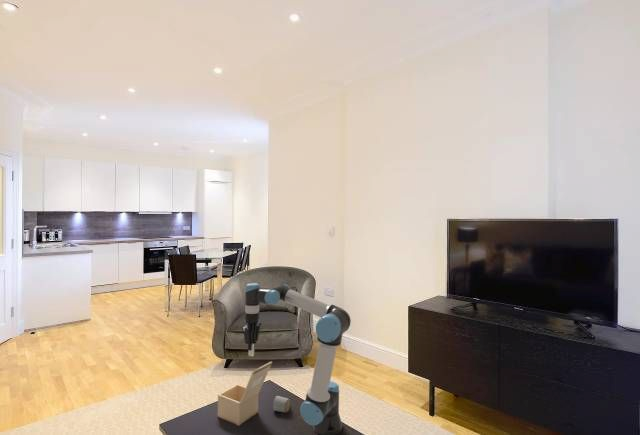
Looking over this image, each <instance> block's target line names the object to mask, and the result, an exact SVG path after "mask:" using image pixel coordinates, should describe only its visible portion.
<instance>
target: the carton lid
mask: <svg viewBox="0 0 640 435" xmlns="http://www.w3.org/2000/svg"><path fill="white" fill-rule="evenodd" d="M272 364H273V361H269V362H268V363H265V364H264V365H262V366H260V367H257V368H256V369H254V370H253V371H252V372H251V375H250V377H249V380H248V382H247V384H246V386H245V387H246V389H245V391H244V393H243V396H242V398H241V401H240V404H241V403H243V402H244V401H246V400H248V399H249V398H251V397H253V396H254V395H256V394H257V393H258V394H259V393H260V391H261V390H262V387H263V385H264V382H265V380H266V377H267V375H268V373H269V371H270V368H271V366H272Z"/></svg>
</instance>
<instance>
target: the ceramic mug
mask: <svg viewBox="0 0 640 435" xmlns="http://www.w3.org/2000/svg"><path fill="white" fill-rule="evenodd" d="M290 407H291V400H290V399H289V398H287V397H284V396H280V395H276V396H275V397H274V400H273V402H272V410H273V411H275V412H280V413H288V412H289V410H290Z"/></svg>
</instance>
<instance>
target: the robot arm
mask: <svg viewBox="0 0 640 435" xmlns="http://www.w3.org/2000/svg"><path fill="white" fill-rule="evenodd" d="M280 301H283V302H284V303H288V304H289V305H292V306H294V307H297V308H299V309H300V310H302V311H305V312H307V313H310V314H312V315H314V316H317V317H318V318H319V319H318V320H317V322H316V325H315V334H316V335H317V336H316V337H317V338H316V340H317V341H318V347H317V348H318V350H317V355H316V360H315V365H314V370H313V374H312V381H311V385H310V387H309V388H308V389H307V391H306V394H305V399H304V401H303V402H302V403H301V405H300V408H299V412H300V415H301V417H302V419H303V421H304V423H307V424H308V425H310V426H313V427H312V429H313V430H314V432H315V433H316V434H318V435H338V434H340V433H341V432H342V429H343V423H342V418H341V416H340V386H339V384H337V383H336V382H335V381H332V380H331V379H332V374H333V368H334V363H335V358H336V352H337V348H338V347H340V345H341V344H342V338H343V335H344V333H345V332H347V331H348V330H349V328H350V327H351V323H352V319H351V316H350V314H349V313H348V312H347V311H346V310H345V309H344V308H342V307H339V306H338V305H335V304H327V303H325V302H322V301H319V300H317V299H315V298H312V297H310V296H308V295H305V294H304V293H300V292H298V291H295V290H294V289H292V288H291V287H290V286H289V285H288V284H280V285H278V286H275V287H271V288H261V285H260V283H256V282H252V283H246V285H245V303H244V306H245V310H244V312H245V313H244V319H245V325H244V326H242V332H243V338H244V343H245V344H246V345H247V350H248V357H254V356H255V347H256V344H257V342H258V340H259V336H260V329H261V325H262V322H259V319H260V304H266V305H269V306H271V305H273V306H274V305H275V306H276V305H277V304H278V303H279V302H280Z"/></svg>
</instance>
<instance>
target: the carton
mask: <svg viewBox="0 0 640 435" xmlns="http://www.w3.org/2000/svg"><path fill="white" fill-rule="evenodd" d="M245 389H246V386H244V385H241V384H238V383H237V384H236V385H234V386H232V387H230V388H228V389H226V390H224V391H223V392H221V393H219V394H217V417H218V418H220V419H222V420H225V421H226V422H229V423H230V424H231V423H232V424H233V425H236V426H241V425H243V423H244V424H245V423H246V422H247V421H248V420H250V419H251V418H253V417H254V416H255V415H257V414H258V413H259V393H257V394H256V395H254V396H253V397H251V398H249V399H248V400H246V401H244V402H243V403H241V404H240V401H241V398H242V396H243V393H244V391H245Z"/></svg>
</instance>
